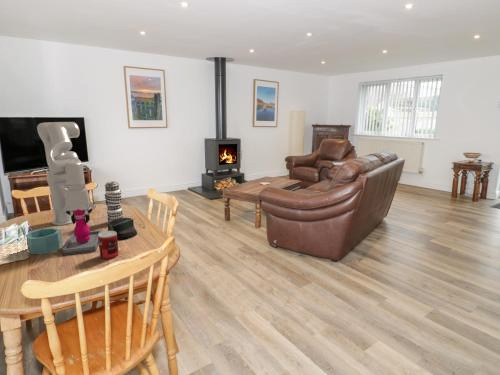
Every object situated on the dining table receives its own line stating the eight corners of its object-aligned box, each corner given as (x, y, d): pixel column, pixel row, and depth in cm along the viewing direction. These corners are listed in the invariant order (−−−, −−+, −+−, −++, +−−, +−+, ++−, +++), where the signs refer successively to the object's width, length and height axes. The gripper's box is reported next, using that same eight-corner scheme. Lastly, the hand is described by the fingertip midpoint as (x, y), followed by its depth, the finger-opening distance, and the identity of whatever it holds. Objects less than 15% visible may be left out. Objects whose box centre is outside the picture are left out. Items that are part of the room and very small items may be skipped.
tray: (73, 237, 162) (72, 233, 161) (102, 234, 166) (101, 230, 166) (62, 255, 142) (61, 250, 141) (95, 251, 146) (95, 246, 145)
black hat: (133, 242, 157) (132, 226, 154) (94, 243, 156) (92, 226, 154) (145, 228, 176) (144, 213, 174) (110, 229, 175) (108, 213, 173)
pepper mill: (94, 238, 156) (90, 200, 151) (82, 243, 149) (77, 204, 144) (83, 236, 158) (78, 199, 153) (71, 241, 151) (66, 203, 147)
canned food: (104, 252, 145) (101, 230, 142) (121, 251, 146) (119, 230, 143) (97, 259, 137) (94, 237, 135) (115, 259, 138) (113, 236, 136)
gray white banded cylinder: (127, 221, 187) (123, 181, 181) (114, 225, 179) (110, 184, 173) (117, 218, 191) (113, 180, 186) (104, 223, 183) (99, 183, 178)
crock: (34, 244, 153) (31, 229, 151) (64, 241, 157) (62, 226, 155) (23, 256, 141) (20, 240, 139) (57, 252, 145) (54, 236, 143)
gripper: (54, 190, 141) (59, 226, 145) (94, 187, 146) (98, 223, 151) (58, 186, 148) (63, 221, 152) (97, 184, 153) (101, 218, 157)
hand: (81, 222), depth 151 cm, fingers open, 5 cm apart
